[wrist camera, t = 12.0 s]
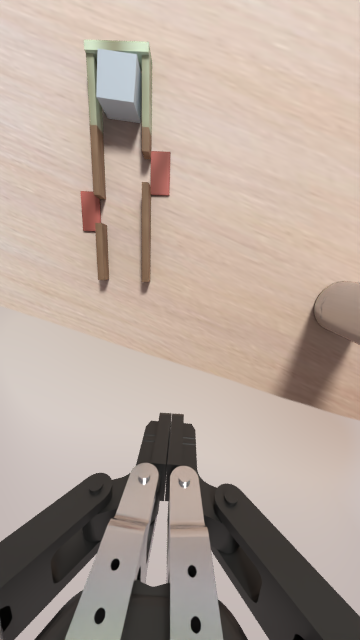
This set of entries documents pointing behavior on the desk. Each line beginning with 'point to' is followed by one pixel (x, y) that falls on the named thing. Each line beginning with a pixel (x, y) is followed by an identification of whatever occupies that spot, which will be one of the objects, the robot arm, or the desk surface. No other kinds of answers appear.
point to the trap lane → (92, 199)
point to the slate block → (119, 85)
